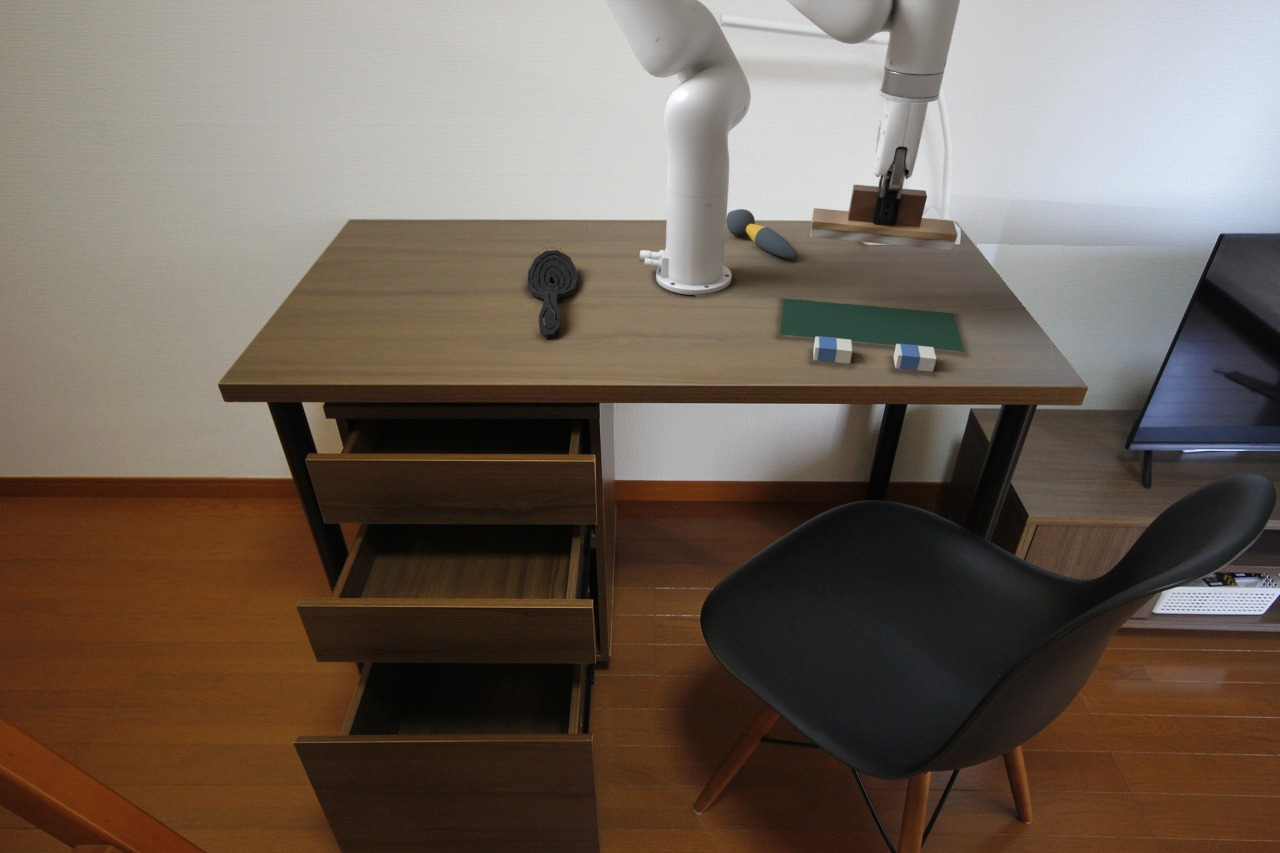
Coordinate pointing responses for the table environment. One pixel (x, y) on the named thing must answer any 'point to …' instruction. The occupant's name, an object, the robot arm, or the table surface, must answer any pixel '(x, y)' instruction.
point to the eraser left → (832, 349)
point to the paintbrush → (759, 234)
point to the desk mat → (870, 324)
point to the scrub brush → (903, 233)
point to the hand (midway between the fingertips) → (883, 218)
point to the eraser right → (914, 357)
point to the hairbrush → (551, 287)
